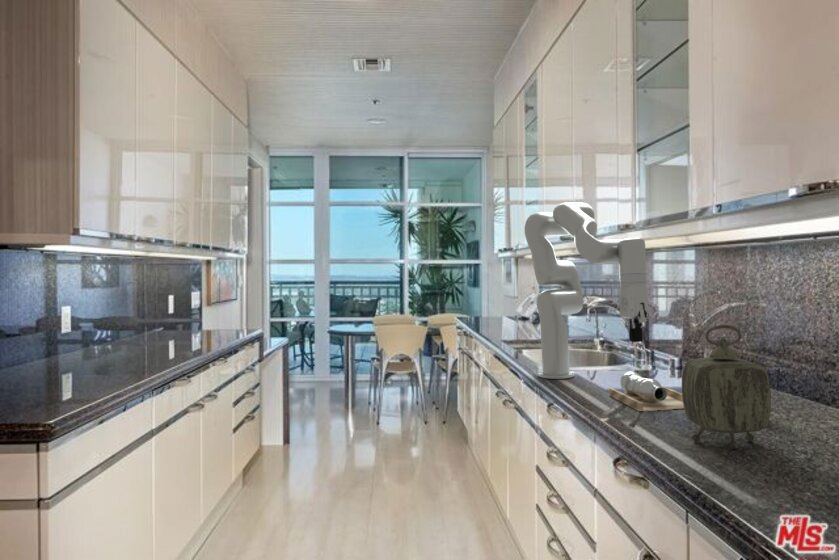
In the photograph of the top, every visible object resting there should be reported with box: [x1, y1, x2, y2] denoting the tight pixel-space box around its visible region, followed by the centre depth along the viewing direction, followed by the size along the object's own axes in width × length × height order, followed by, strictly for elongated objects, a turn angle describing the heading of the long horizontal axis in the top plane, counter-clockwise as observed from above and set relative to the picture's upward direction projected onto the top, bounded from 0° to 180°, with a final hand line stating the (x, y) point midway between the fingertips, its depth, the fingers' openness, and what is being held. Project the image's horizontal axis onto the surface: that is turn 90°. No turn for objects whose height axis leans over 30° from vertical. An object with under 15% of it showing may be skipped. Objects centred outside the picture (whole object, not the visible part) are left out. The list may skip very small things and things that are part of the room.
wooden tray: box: [608, 384, 685, 412], centre depth 150 cm, size 20×16×2 cm
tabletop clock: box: [681, 324, 772, 450], centre depth 110 cm, size 14×9×25 cm, turn 83°
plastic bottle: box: [619, 371, 667, 403], centre depth 152 cm, size 6×7×20 cm
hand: (636, 341), depth 158 cm, fingers closed
